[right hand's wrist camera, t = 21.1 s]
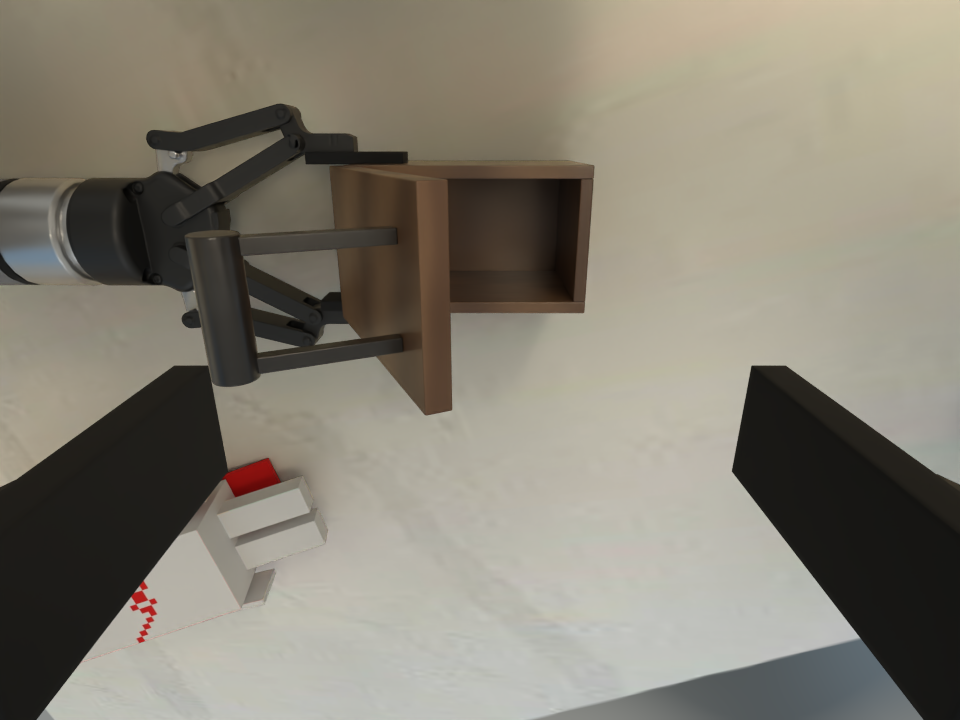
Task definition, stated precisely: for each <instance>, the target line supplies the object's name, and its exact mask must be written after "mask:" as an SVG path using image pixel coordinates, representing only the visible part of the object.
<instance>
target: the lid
mask: <svg viewBox="0 0 960 720" xmlns="http://www.w3.org/2000/svg"><path fill="white" fill-rule="evenodd" d="M330 178H331V189H332V200H333V211H334V222H335V229H329V230H312V231H296V232H279V233H262V234H245V235H240V234H239V232H237V231H231V230H211V231H200V232H193V233H189V234H187V235H185V242H186V248H187V253H188V258H189V264H190V269H191V274H192V280H193V285H194V290H195V296H196V301H197V307H198V312H199V317H200V323H201V328H202V333H203V339H204V344H205V349H206V355H207V360H208V365H209V371H210V376H211V381H212V383H213V384H214V385H217V386H222V387H234V386H241V385H245V384H248V383H251V382H253V381H255V380H257V379H258V378H259V377H260V375H261V374H263V373H269V372H276V371H282V370H289V369H296V368H302V367H309V366H315V365H322V364H328V363H335V362H341V361H348V360H355V359H361V358H368V357H374V356H376V357H377V358H378V359H379V360H380V362H381V363H382V364H383V365H384V366H385V368H386V369H387V370H388V371H389V372H390V374H391V375H392V376H393V377H394V378H395V380H396V381H397V382H398V383H399V384H400V386H401V387H402V388H403V389H404V390H405V392H406V393H407V394H408V395H409V396H410V398H411V399H412V400H413V401H414V402H415V404H416V405H417V406H418V407H419V408H420V410H421V411H422V412H423V413H424V414H425V415H431V414H436V413H441V412H446V411H451V410H452V375H451V325H450V274H449V223H448V181H447V180H446V179H439V178H432V177H425V176H418V175H411V174H404V173H397V172H390V171H383V170H376V169H369V168H362V167H355V166H330ZM330 249H337V255H338V266H339V277H340V288H341V299H342V310H343V317H344V318H345V320H346V321H347V322H348V323H349V324H350V326H351V327H352V328H353V329H354V330H355V332H356V333H357V334H358V335H359V336H360V338H361V339H355V340H348V341H341V342H333V343H326V344H319V345H312V346H305V347H297V348H290V349H283V350H276V351H268V352H261V353H258V351H257V345H256V338H255V332H254V325H253V318H252V312H251V305H250V299H249V292H248V286H247V279H246V272H245V266H244V259H243V256H248V255H262V254H275V253H289V252H303V251H316V250H330Z"/></svg>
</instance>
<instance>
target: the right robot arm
mask: <svg viewBox="0 0 960 720" xmlns="http://www.w3.org/2000/svg"><path fill="white" fill-rule="evenodd" d="M227 472H228V468H227V463H226V458H225V452H224V447H223V441H222V436H221V431H220V425H219V420H218V415H217V409H216V404H215V399H214V393H213V388H212V383H211V377H210V372H209V366H173V367H172V368H170V369H169V370H168V371H166V372H165V373H164V374H162V375H161V376H159V377H158V378H157V379H155V380H154V381H152V382H151V383H150V384H148V385H147V386H146V387H144V388H143V389H141V390H140V391H139V392H137V393H136V394H134V395H133V396H132V397H130V398H129V399H127V400H126V401H125V402H123V403H122V404H121V405H119V406H118V407H116V408H115V409H114V410H112V411H111V412H109V413H108V414H107V415H105V416H104V417H103V418H101V419H100V420H98V421H97V422H96V423H94V424H93V425H91V426H90V427H89V428H87V429H86V430H85V431H83V432H82V433H80V434H79V435H78V436H76V437H75V438H73V439H72V440H71V441H69V442H68V443H67V444H65V445H64V446H62V447H61V448H60V449H58V450H57V451H55V452H54V453H53V454H51V455H50V456H49V457H47V458H46V459H44V460H43V461H42V462H40V463H39V464H37V465H36V466H35V467H33V468H32V469H31V470H29V471H28V472H26V473H25V474H24V475H22V476H21V477H19V478H18V479H17V480H14V481H12V482H10V483H8V484H6V485H4V486H2V487H0V720H37V718H38V717H39V716H40V714H41V713H42V712H43V711H44V709H45V708H46V707H47V705H48V704H49V703H50V701H51V700H52V699H53V698H54V696H55V695H56V694H57V692H58V691H59V690H60V688H61V687H62V686H63V685H64V683H65V682H66V681H67V679H68V678H69V677H70V676H71V674H72V673H73V672H74V670H75V669H76V668H77V666H78V665H79V664H80V663H81V661H82V660H83V659H84V657H85V656H86V655H87V654H88V652H89V651H90V650H91V648H92V647H93V646H94V644H95V643H96V642H97V641H98V639H99V638H100V637H101V635H102V634H103V633H104V631H105V630H106V629H107V628H108V626H109V625H110V624H111V622H112V621H113V620H114V619H115V617H116V616H117V615H118V613H119V612H120V611H121V609H122V608H123V607H124V606H125V604H126V603H127V602H128V600H129V599H130V598H131V597H132V595H133V594H134V593H135V591H136V590H137V589H138V587H139V586H140V585H141V584H142V582H143V581H144V580H145V578H146V577H147V576H148V574H149V573H150V572H151V571H152V569H153V568H154V567H155V565H156V564H157V563H158V562H159V560H160V559H161V558H162V556H163V555H164V554H165V552H166V551H167V550H168V549H169V547H170V546H171V545H172V543H173V542H174V541H175V539H176V538H177V537H178V536H179V534H180V533H181V532H182V530H183V529H184V528H185V527H186V525H187V524H188V523H189V521H190V520H191V519H192V517H193V516H194V515H195V514H196V512H197V511H198V510H199V508H200V507H201V506H202V505H203V503H204V502H205V501H206V499H207V498H208V497H209V495H210V494H211V493H212V492H213V490H214V489H215V488H216V486H217V485H218V484H219V482H220V481H221V480H222V479H223V477H224V476H225V475H226V473H227ZM732 472H733V473H734V475H735V476H736V477H737V479H738V480H739V481H740V483H741V484H742V485H743V486H744V488H745V489H746V490H747V492H748V493H749V494H750V495H751V497H752V498H753V499H754V501H755V502H756V503H757V505H758V506H759V507H760V508H761V510H762V511H763V512H764V514H765V515H766V516H767V517H768V519H769V520H770V521H771V523H772V524H773V525H774V527H775V528H776V529H777V530H778V532H779V533H780V534H781V536H782V537H783V538H784V540H785V541H786V542H787V543H788V545H789V546H790V547H791V549H792V550H793V551H794V552H795V554H796V555H797V556H798V558H799V559H800V560H801V562H802V563H803V564H804V565H805V567H806V568H807V569H808V571H809V572H810V573H811V574H812V576H813V577H814V578H815V580H816V581H817V582H818V584H819V585H820V586H821V587H822V589H823V590H824V591H825V593H826V594H827V595H828V597H829V598H830V599H831V600H832V602H833V603H834V604H835V606H836V607H837V608H838V609H839V611H840V612H841V613H842V615H843V616H844V617H845V619H846V620H847V621H848V622H849V624H850V625H851V626H852V628H853V629H854V630H855V631H856V633H857V634H858V635H859V637H860V638H861V639H862V641H863V642H864V643H865V644H866V646H867V647H868V648H869V650H870V651H871V652H872V654H873V655H874V656H875V657H876V659H877V660H878V661H879V663H880V664H881V665H882V666H883V668H884V669H885V670H886V672H887V673H888V674H889V675H890V677H891V678H892V679H893V681H894V682H895V683H896V685H897V686H898V687H899V688H900V690H901V691H902V692H903V694H904V695H905V696H906V698H907V699H908V700H909V701H910V703H911V704H912V705H913V707H914V708H915V709H916V710H917V712H918V713H919V714H920V716H921V717H922V718H923V720H960V485H959V484H957V483H955V482H953V481H951V480H948V479H946V478H944V477H942V476H940V475H938V474H935V473H934V472H932V471H931V470H929V469H928V468H927V467H925V466H924V465H923V464H921V463H920V462H918V461H917V460H916V459H914V458H913V457H911V456H910V455H909V454H907V453H906V452H905V451H903V450H902V449H900V448H899V447H898V446H896V445H895V444H893V443H892V442H891V441H889V440H888V439H887V438H885V437H884V436H882V435H881V434H880V433H878V432H877V431H875V430H874V429H873V428H871V427H870V426H869V425H867V424H866V423H864V422H863V421H862V420H860V419H859V418H857V417H856V416H855V415H853V414H852V413H851V412H849V411H848V410H846V409H845V408H844V407H842V406H841V405H839V404H838V403H837V402H835V401H834V400H832V399H831V398H830V397H828V396H827V395H826V394H824V393H823V392H821V391H820V390H819V389H817V388H816V387H814V386H813V385H812V384H810V383H809V382H808V381H806V380H805V379H803V378H802V377H801V376H799V375H798V374H796V373H795V372H794V371H792V370H791V369H790V368H788V367H787V366H751V372H750V377H749V382H748V388H747V393H746V399H745V404H744V409H743V415H742V420H741V425H740V431H739V436H738V441H737V447H736V452H735V458H734V463H733V468H732Z"/></svg>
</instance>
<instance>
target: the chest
mask: <svg viewBox="0 0 960 720" xmlns="http://www.w3.org/2000/svg"><path fill="white" fill-rule="evenodd" d="M343 166H355V167H362V168H369V169H376V170H383V171H390V172H397V173H404V174H411V175H418V176H425V177H432V178H439V179H446V180H447V181H448V223H449V274H450V313H584V308H585V294H586V280H587V266H588V251H589V237H590V222H591V208H592V194H593V178H594V165H589V164H584V163H578V162H573V161H408V163H404V164H349V165H343Z"/></svg>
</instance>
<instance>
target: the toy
mask: <svg viewBox="0 0 960 720" xmlns="http://www.w3.org/2000/svg"><path fill="white" fill-rule="evenodd" d="M313 500H314V499H313V497H312V495H311V493H310V490H309V488H308V486H307V484H306V482H305V480H304V478H303V476H300V477H297V478H294V479H291V480H288V481H285V482H280V480H279V478H278V476H277V474H276V472H275V470H274V468H273V466H272V464H271V462H270V460H269V458H267V459H264V460H262V461H259V462H256V463H253V464H250V465H248V466H245V467H242V468H239V469H237V470H234V471H231V472H228V473H226V475H225V476H224V477H223V479H222V480H221V481H220V482H219V484H218V485H217V486H216V488H215V489H214V490H213V492H212V493H211V494H210V495H209V497H208V498H207V499H206V501H205V502H204V503H203V505H202V506H201V507H200V508H199V510H198V511H197V512H196V514H195V515H194V516H193V517H192V519H191V520H190V521H189V523H188V524H187V525H186V527H185V528H184V529H183V530H182V532H181V533H180V534H179V536H178V537H177V538H176V539H175V541H174V542H173V543H172V545H171V546H170V547H169V549H168V550H167V551H166V552H165V554H164V555H163V556H162V558H161V559H160V560H159V562H158V563H157V564H156V565H155V567H154V568H153V569H152V571H151V572H150V573H149V574H148V576H147V577H146V578H145V580H144V581H143V582H142V584H141V585H140V586H139V587H138V589H137V590H136V591H135V593H134V594H133V595H132V597H131V598H130V599H129V600H128V602H127V603H126V604H125V606H124V607H123V608H122V609H121V611H120V612H119V613H118V615H117V616H116V617H115V619H114V620H113V621H112V622H111V624H110V625H109V626H108V628H107V629H106V630H105V631H104V633H103V634H102V635H101V637H100V638H99V639H98V641H97V642H96V643H95V644H94V646H93V647H92V648H91V650H90V651H89V652H88V654H87V655H86V656H85V657H84V659H83V660H82V661H81V662H84V661H87V660H90V659H93V658H96V657H99V656H102V655H105V654H108V653H111V652H114V651H117V650H120V649H123V648H126V647H129V646H132V645H135V644H138V643H141V642H144V641H147V640H150V639H153V638H156V637H159V636H162V635H165V634H168V633H171V632H174V631H177V630H180V629H183V628H186V627H189V626H192V625H195V624H198V623H201V622H204V621H207V620H210V619H213V618H216V617H219V616H222V615H225V614H228V613H232V612H236V611H240V610H244V609H248V608H252V607H256V606H261V605H265V602H266V599H267V596H268V594H269V591H270V588H271V585H272V583H273V580H274V577H275V575H276V572H275V569H271V570H267V571H263V572H258V573H255V570H256V568H257V567H258V566H261V565H264V564H267V563H270V562H273V561H276V560H279V559H282V558H285V557H288V556H291V555H294V554H297V553H300V552H303V551H306V550H309V549H312V548H315V547H318V546H321V545H324V544H325V543H326V538H327V533H328V529H327V527H326V525H325V522H324V520H323V518H322V516H321V514H320V512H319V510H318V508H315V509H312V510H311V507H312V503H313Z"/></svg>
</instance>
